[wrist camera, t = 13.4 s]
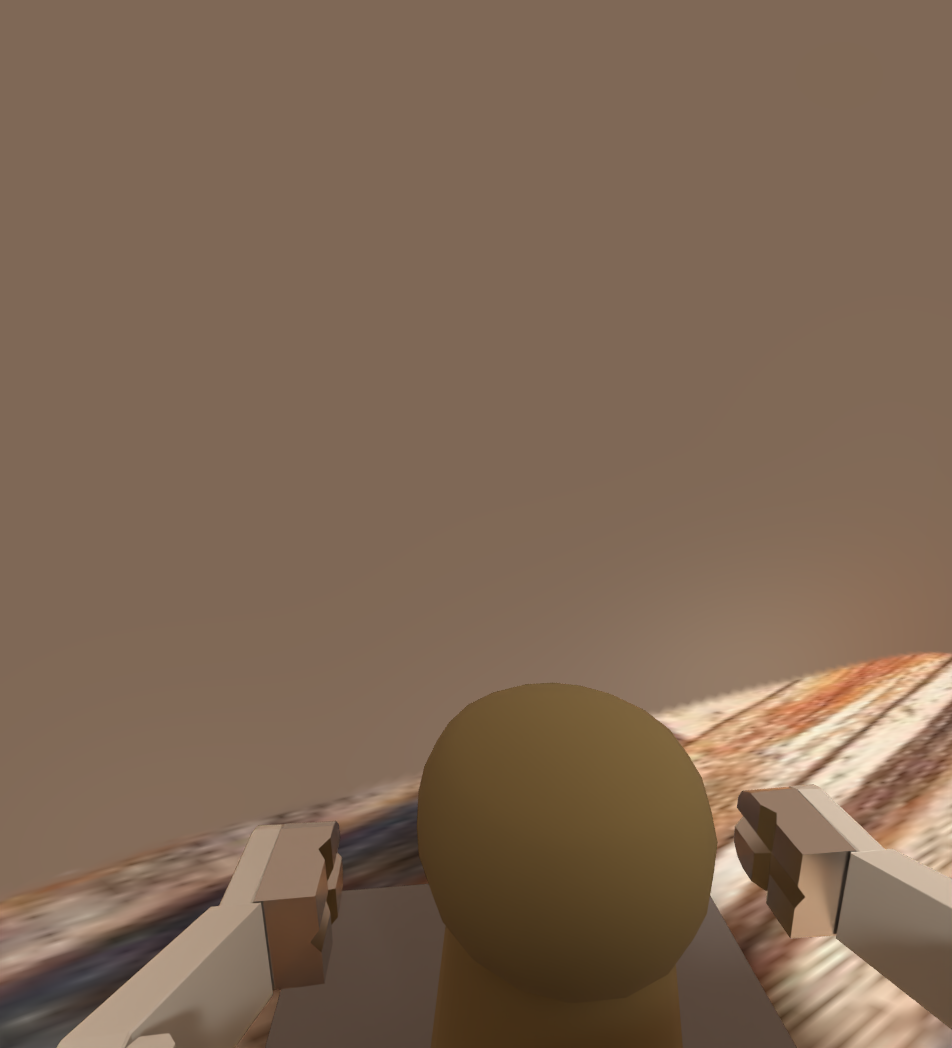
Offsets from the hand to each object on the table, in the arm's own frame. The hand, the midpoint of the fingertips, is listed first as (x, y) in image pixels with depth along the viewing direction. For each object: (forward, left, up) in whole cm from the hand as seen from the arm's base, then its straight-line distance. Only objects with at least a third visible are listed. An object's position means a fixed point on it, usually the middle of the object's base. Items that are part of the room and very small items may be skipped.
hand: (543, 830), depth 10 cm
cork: (0, -1, -8) cm, 8 cm away
